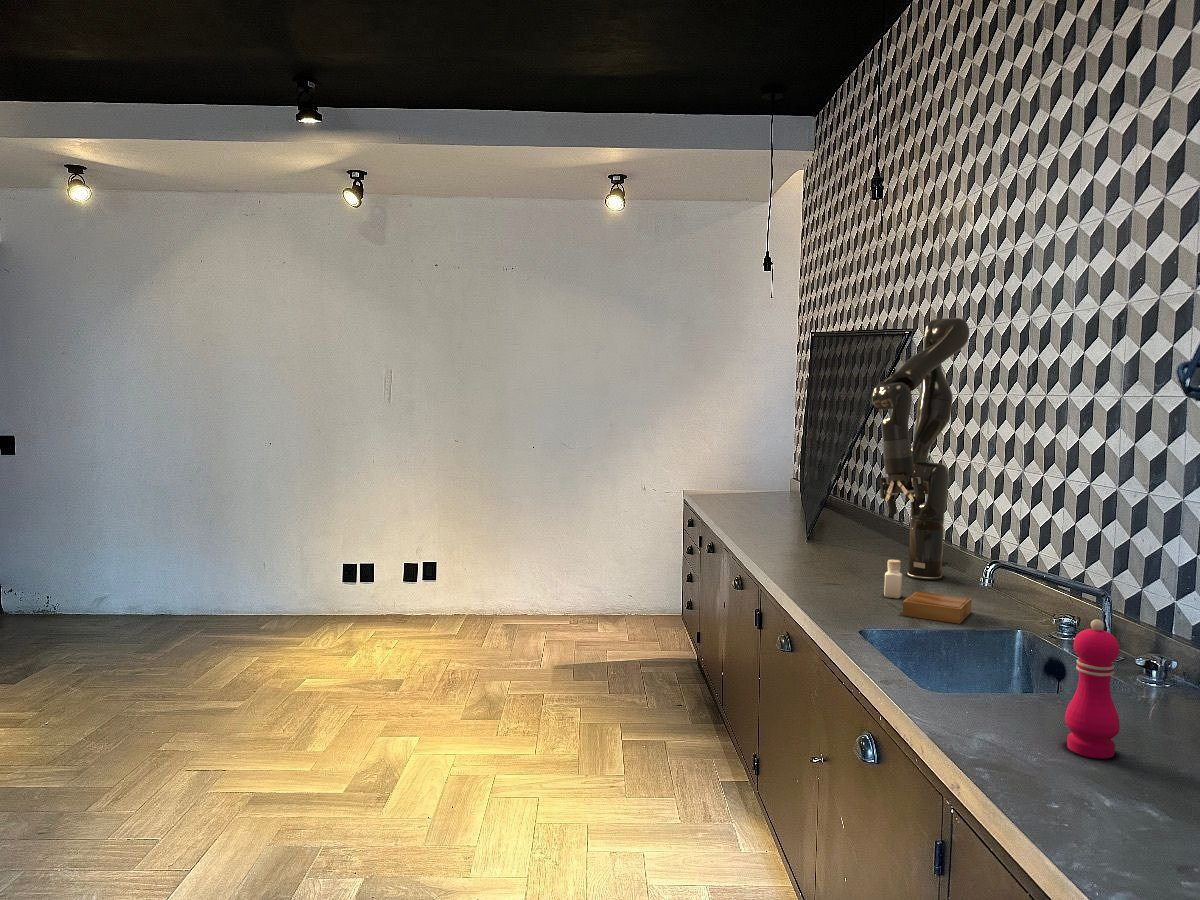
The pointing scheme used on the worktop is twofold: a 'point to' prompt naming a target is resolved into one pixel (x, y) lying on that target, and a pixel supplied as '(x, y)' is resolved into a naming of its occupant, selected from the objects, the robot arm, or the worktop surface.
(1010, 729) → the worktop surface
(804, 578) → the worktop surface
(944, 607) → the riser
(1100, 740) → the pepper mill
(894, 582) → the pepper shaker
